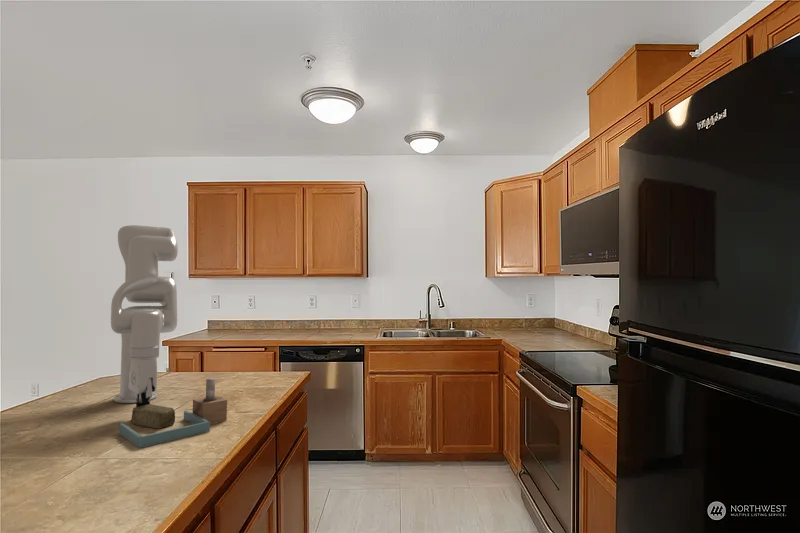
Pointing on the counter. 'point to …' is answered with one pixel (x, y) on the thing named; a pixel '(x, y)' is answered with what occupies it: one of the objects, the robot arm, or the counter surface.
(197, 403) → the block with knob
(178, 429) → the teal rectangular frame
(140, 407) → the stone block
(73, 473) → the counter surface
